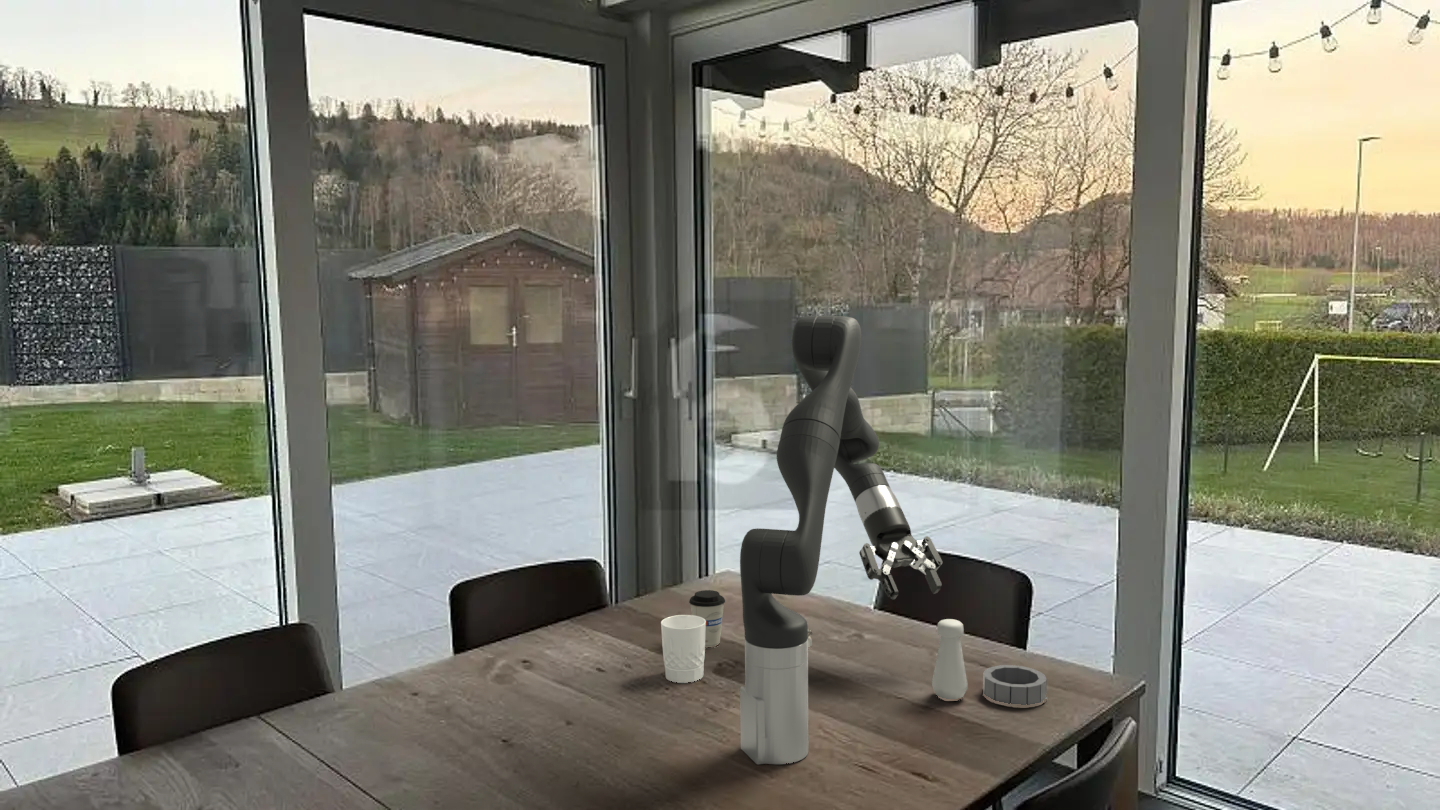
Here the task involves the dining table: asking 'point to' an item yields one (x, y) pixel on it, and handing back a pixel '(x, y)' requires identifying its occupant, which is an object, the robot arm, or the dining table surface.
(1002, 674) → the bowl
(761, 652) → the robot arm
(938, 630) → the salt shaker
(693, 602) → the coffee cup
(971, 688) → the dining table surface
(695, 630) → the white cup
